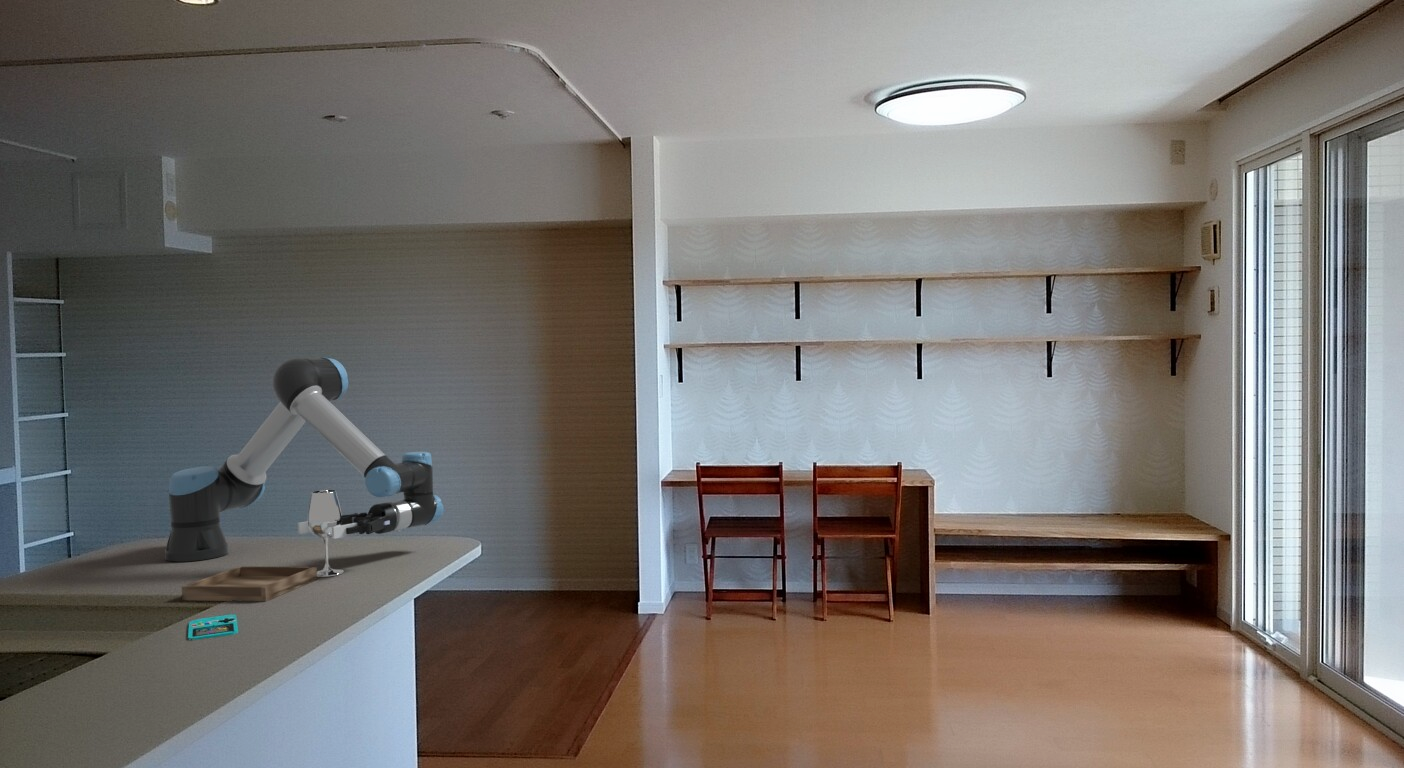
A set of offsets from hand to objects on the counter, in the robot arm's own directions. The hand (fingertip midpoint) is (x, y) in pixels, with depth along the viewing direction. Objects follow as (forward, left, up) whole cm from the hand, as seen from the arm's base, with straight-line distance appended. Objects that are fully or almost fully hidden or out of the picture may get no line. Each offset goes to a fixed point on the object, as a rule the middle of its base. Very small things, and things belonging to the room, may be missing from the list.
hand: (315, 530), depth 233 cm
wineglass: (-3, +1, -11) cm, 11 cm away
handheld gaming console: (+43, +4, -12) cm, 45 cm away
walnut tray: (+13, -8, -11) cm, 19 cm away
